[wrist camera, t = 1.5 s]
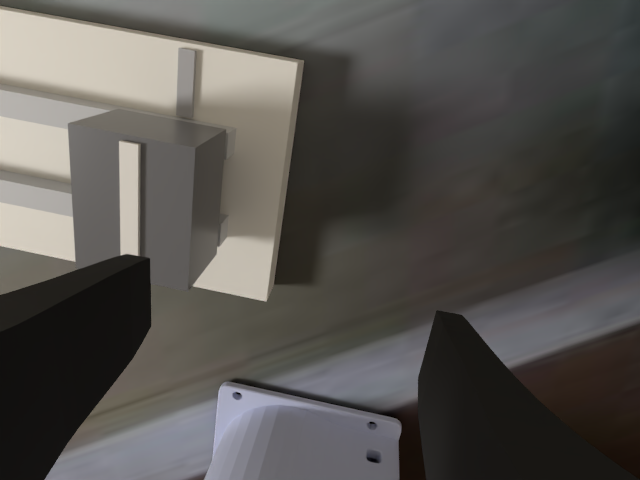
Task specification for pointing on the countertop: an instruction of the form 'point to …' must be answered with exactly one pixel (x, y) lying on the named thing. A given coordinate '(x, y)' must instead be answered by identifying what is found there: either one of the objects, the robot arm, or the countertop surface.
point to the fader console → (154, 99)
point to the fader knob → (147, 192)
